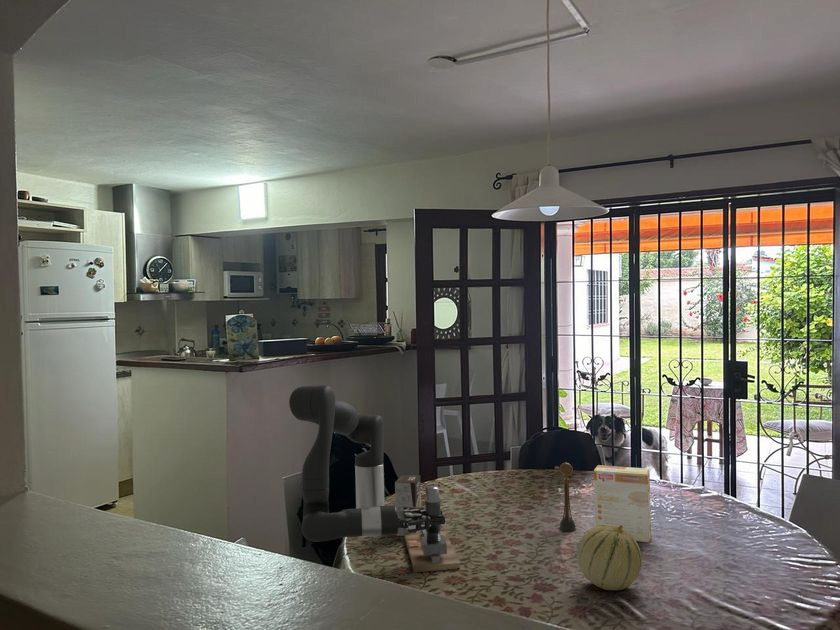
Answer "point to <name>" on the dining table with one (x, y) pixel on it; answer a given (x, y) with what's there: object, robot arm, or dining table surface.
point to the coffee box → (407, 495)
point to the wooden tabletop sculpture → (566, 499)
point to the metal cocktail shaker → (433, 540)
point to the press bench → (426, 560)
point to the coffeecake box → (623, 499)
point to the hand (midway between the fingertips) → (443, 516)
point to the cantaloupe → (609, 557)
